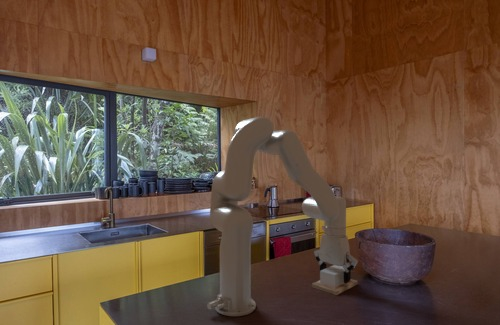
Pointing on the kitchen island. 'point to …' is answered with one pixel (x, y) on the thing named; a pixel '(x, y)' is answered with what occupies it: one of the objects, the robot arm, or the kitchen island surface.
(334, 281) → the block
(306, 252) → the kitchen island surface
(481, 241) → the kitchen island surface
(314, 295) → the kitchen island surface
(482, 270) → the kitchen island surface
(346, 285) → the pin block
